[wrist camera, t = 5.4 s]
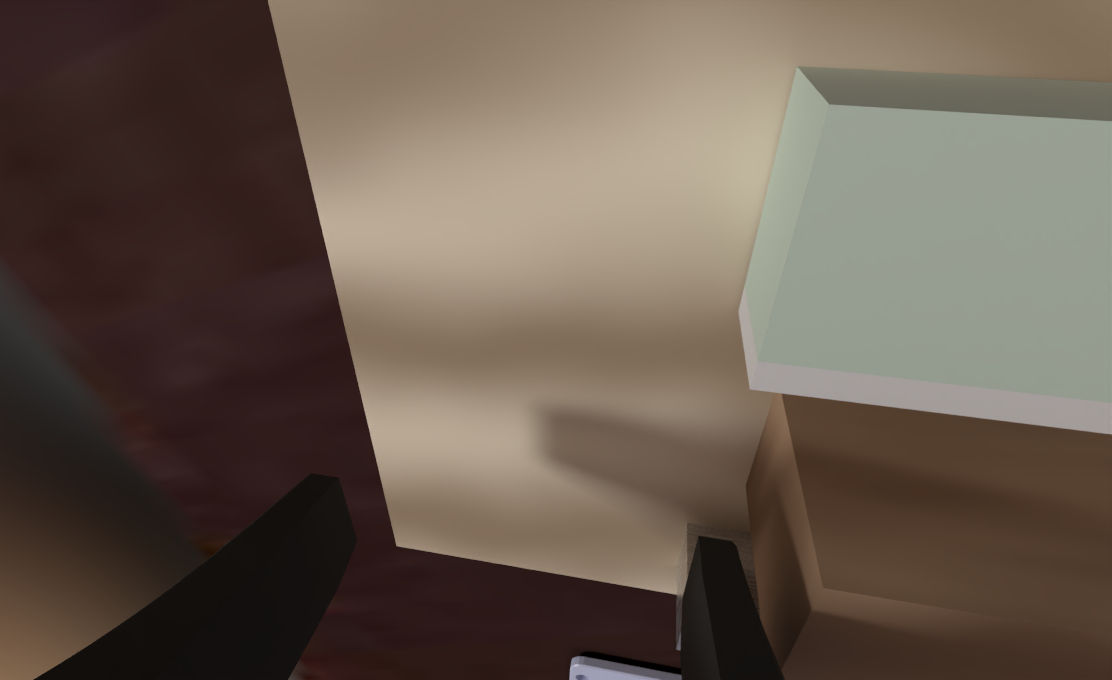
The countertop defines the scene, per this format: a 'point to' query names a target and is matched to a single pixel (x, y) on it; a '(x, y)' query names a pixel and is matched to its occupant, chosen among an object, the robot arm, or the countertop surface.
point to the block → (930, 545)
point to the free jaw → (938, 247)
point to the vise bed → (583, 241)
